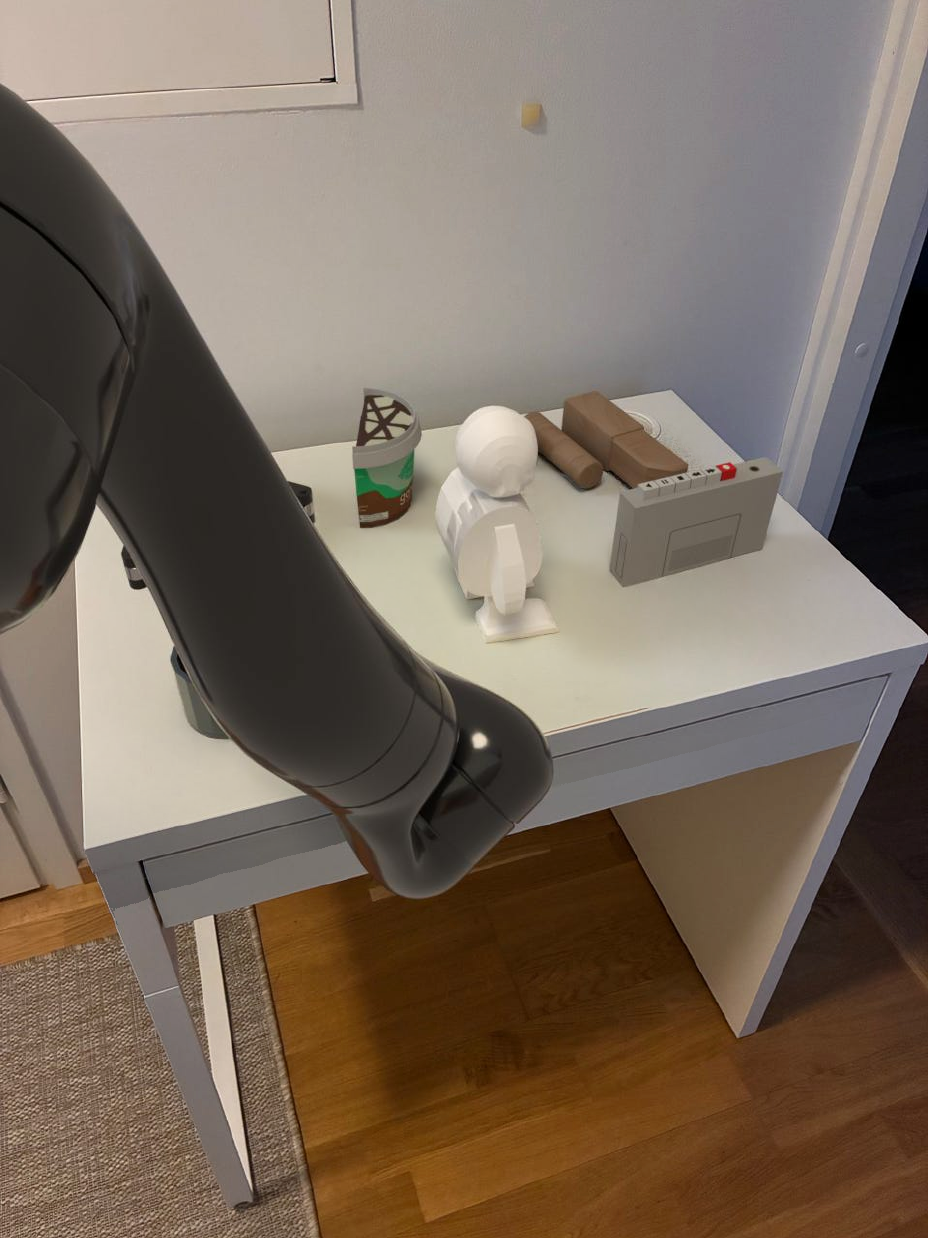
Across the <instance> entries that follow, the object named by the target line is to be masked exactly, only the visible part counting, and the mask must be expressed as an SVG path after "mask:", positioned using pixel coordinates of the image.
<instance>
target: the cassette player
mask: <svg viewBox="0 0 928 1238" xmlns="http://www.w3.org/2000/svg"><path fill="white" fill-rule="evenodd" d="M783 474H784V471H783V470H782V469H781V468H780V467H779V466H777V465H776V464H775V463H774V462H773V461H772V460H770V459H769V458H768V457H767V456H764V457H760V458H755V459H750V460H747V461H742V462H739V463H735V464H734V463H733V464H732V462H730V461H729V462H725V463H724V462H723V463H721V464H717V465H712V466H708V467H703V468H700V469H696V470H692V471H687V473H683V474H679V475H674V476H670V477H666V478H662V479H658V480H654V481H649V482H645V483H641V484H638V487H637V488H634V489H633V488H631V489H626V490H622V491H619V498H618V504H617V505H618V506H617V511H616V519H615V526H614V534H613V540H612V548H611V556H610V562H609V570H608V572H610V574H611V575H612V576H613V577H614V578H615V579H616V580H617V582H618V583H619V584H620V585H621V587H622V588H626V587H629V586H634V585H637V584H641V583H643V582H648V581H651V580H655V579H658V578H662V577H666V576H669V575H673V574H676V573H681V572H684V571H687V570H691V569H695V568H698V567H699V568H700V567H702V566H706V565H709V564H714V563H717V562H720V561H724V560H728V559H731V558H732V559H733V558H734V557H739V556H742V555H747V554H749V553H753V552H757V551H760V550H762V549H763V547H764V543H765V541H766V537H767V532H768V529H769V525H770V523H771V518H772V515H773V510H774V507H775V503H776V500H777V496H778V492H779V490H780V485H781V482H782V478H783Z"/></svg>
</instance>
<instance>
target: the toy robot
mask: <svg viewBox="0 0 928 1238" xmlns="http://www.w3.org/2000/svg"><path fill="white" fill-rule="evenodd" d="M454 452H455V461H456V465H457V467H456V468H455V469H453V470H452V471H451V472H450V473H449V475H448V477H447V478H446V479H445V480H444V482H443V484H442V486H441V488H440V491H439V493H438V497H437V499H436V504H435V523H436V524H435V525H436V529H437V531H438V534H439V536H440V538H441V541H442V543H443V545H444V548H445V549H446V552H447V555H448V557H449V559H450V561H451V563H452V566H453V568H454V570H455V572H456V579H457V581H458V583H459V586H460V588H461V590H462V592H463V595H464V597H465V599H466V601H467V600H472V599H473V600H474V599H477V598H478V599H479V598H482V597H484V599H483V604H482V606H481V607H480V608H478V610H476V611H475V615H474V620H475V622H476V625H477V626H478V629H479V631H480V634H481V635H482V638H483V640H484V643H485V644H490V643H497V642H503V641H509V640H516V639H517V640H518V639H523V638H530V637H536V636H542V635H550V634H556V633H559V632H560V631H559V629H558V625H557V624H556V622H555V620H554V618H553V616H552V614H551V613H550V611H549V609H548V607H547V605H546V603H545V601H544V600H542V599H541V598H526V589H528V588H534V587H535V583H534V579H535V578H536V577H537V576H538V573H539V571H540V569H541V568H542V563H543V552H544V551H543V543H542V538H541V531H540V528H539V524H538V522H537V519H536V518H535V516H534V514H533V512H532V511H531V509H530V508H529V505H528V504H527V502H526V500H525V498H524V497H523V495H522V492H523V491H524V490H525V489H526V488H527V487H528V486H529V485H531V484H532V483H534V481H535V479H536V476H537V466H536V465H537V462H538V454H539V453H538V452H539V450H538V444H537V439H536V434H535V430H534V427H533V426H532V424H531V422H530V421H529V420H528V419H526V418H525V417H524V416H523V414H520V413H519V412H518V411H516V410H514V409H512V408H509V407H506V406H502V405H488V406H483V407H480V408H478V409H476V410H475V411H473V412H472V413H471V414H470V415H469V416H468V417H466V419H465V420H464V421H463V422H462V424H461V426H460V428H459V429H458V432H457V434H456V438H455V442H454Z"/></svg>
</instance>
